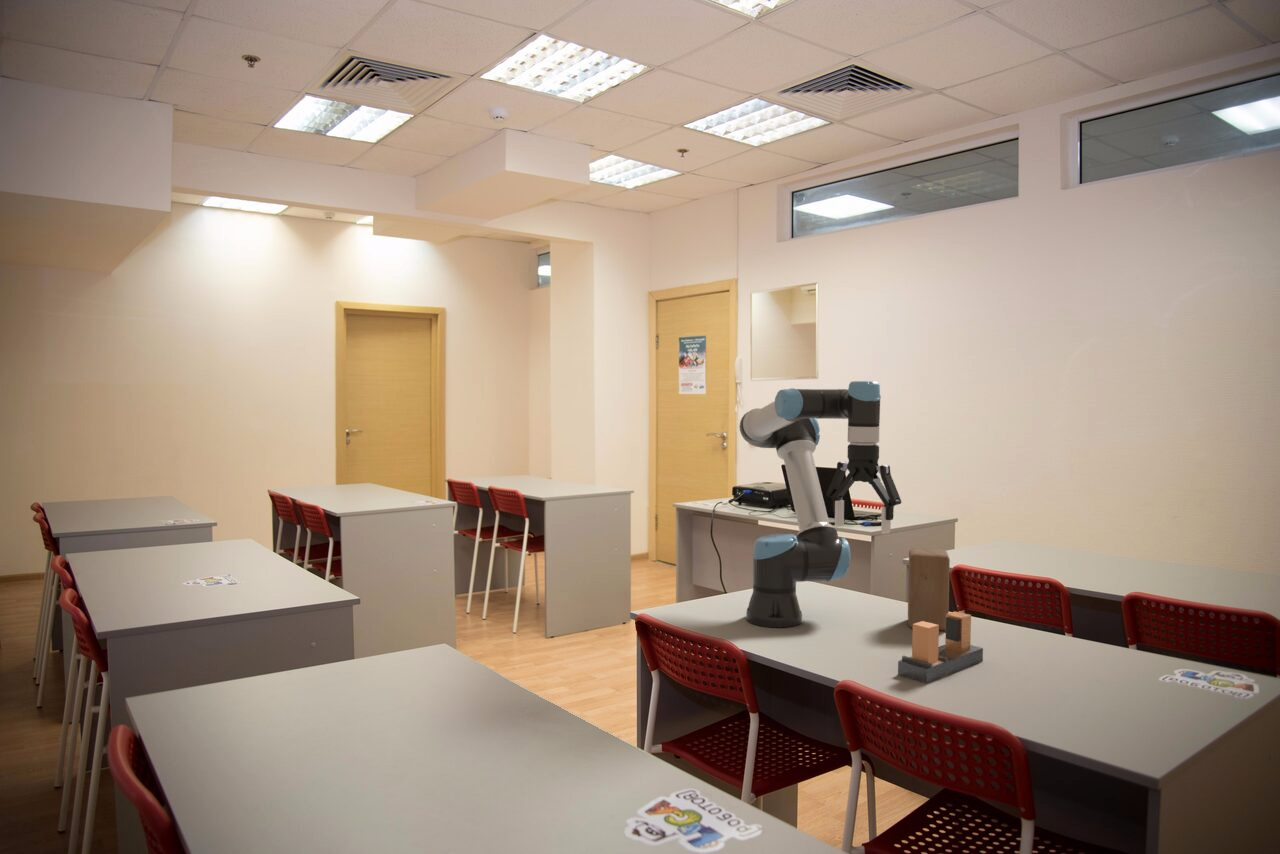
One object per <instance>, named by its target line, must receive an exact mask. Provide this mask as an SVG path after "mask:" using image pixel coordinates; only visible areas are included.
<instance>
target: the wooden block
mask: <svg viewBox="0 0 1280 854" xmlns="http://www.w3.org/2000/svg"><path fill="white" fill-rule="evenodd" d="M950 561H951V560H950V556H949V554H948V551H947V550H945V549H935V548H934V549H931V548H914V547H913V548H910V549H909V551H908V585H907V587H908V588H907V598H908V599H907V624H908V626H909V627H910V628H912V629H913V624H915V623H918V622H921V621H924V622H929V623H933V624H937V625H939V631H943V632H944V631H945V632H946V614H948V613H950V611H949V610H950V609H949V608H950V607H949V605H950V564H951V562H950Z"/></svg>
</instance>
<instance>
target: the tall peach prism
mask: <svg viewBox="0 0 1280 854" xmlns="http://www.w3.org/2000/svg"><path fill="white" fill-rule="evenodd" d="M939 633H940V630H939V625H937V624H933V623H929V622H924V621H921V622H918V623H915V624H913V628H912V635H911V636H912V639H911V640H912V643H911V644H912V645H911V646H912V648H911V651H912V652H911V656H912V658H914V659H918V660H921V661H925V662H929V663H933V662H936V661H938V647H940V645H939V641H940V640H939V639H940V637H939V635H940V634H939Z"/></svg>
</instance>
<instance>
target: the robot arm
mask: <svg viewBox="0 0 1280 854" xmlns="http://www.w3.org/2000/svg"><path fill="white" fill-rule="evenodd" d="M880 385H881V384H880V383H879V382H878V381H869V380H867V381H866V380H863V381H861V380H856V381H855V380H854V381H850V382H849V384H848V387H847V388H848V389H845V388H841V389H840V388H839V389H838V388H837V389H829V388H828V389H827V388H826V389H825V388H823V389H822V388H821V389H819V388H817V389H812V388H810V389H807V388H804V389H803V388H794V387H793V388H791V387H790V388H787V389H786V388H784V389H780V390H778V392H777V393H776V395H775V397H774V401H772V402H771V403H768V404H767V405H765V406H763V407H761V408H760V407H759V408H753V409H750V410H749V411H747V412H746V413H744V414H743V416H742V417H741V419H740V422H739V427H738V428H739V431H740V435H741V437H742V438H743V440H745V441H746V442H747V443H748V444H750V445H752V446H754V447H756V448H762V449H775V450H776V454H777V457H778V458H780V459H782V460H783V461H784V462H783V463H784V467H785V470H786V475H787V476H786V477H787V480H788V484H789V490H790V493H791V494H790V495H791V498H792V502H793V507H794V512H795V516H796V520H797V525H798V532H797V533H796V535H795V534H793V533H788V532H787V533H785V532H784V533H780V532H779V533H771V534H767V535H763V536H760V537H758V538H757V539H756V540H755V541H754V543H753V554H752V560H753V563H752V565H753V569H752V571H753V572H752V581H753V582H752V594H751V596H750V599H749V603H748V606H747V608H746V616H745V618H746V619H745V620H746V621H747V622H748V623H751V624H753V625H756V626H760V627H765V628H767V627H768V628H790V627H796V626H799V625H801V624H802V623H803V612H802V610H801V608H800V607H801V606H800V604H799V600H798V596H797V590H796V589H797V583H798V582H799V583H801V582H823V581H825V582H830V581H838V580H841V579H843V578H845V576H846V575H847V573H848V571H849V568H850V563H851V549H850V548H851V547H850V543H849V542H848V540H847V539H846V538H845V537H842V536H839V534H838V530H837V528H836V527H844V526H845V500H843V498H844V496H845V495H846V494H847V492H848V491H849V490H850V489H851V487H852V486H853V485H854V483H855V482H862V483H868V484H869V485H871V487H872V488H873V490H874V491H875V493H876V494H877V496H878V497H879V499H880V500H881V502H882V503H883V506H881V524H880V525H881V530H880V534H883V535H885V534H891V528H892V527H891V524H892V523H891V522H892V521H893V520H894V508H895V506H898V505H901V504H902V499H901V496H900V494H899V492H898V491H899V490H898V489H897V487H896V484H895V482H894V479H893V477H892V474H891V466H890V465H889V464H882V465H879V463H878V462H879V459H880V446H879V445H878V443H880V423H881V422H880V421H881V419H880V417H881V415H880V414H881V398H882V397H881V386H880ZM818 419H820V420H821V419H829V420H830V419H831V420H832V419H837V420H838V419H839V420H840V419H841V420H845V419H847V420H848V421H847V442H848V443H849V444H848V445H847V456H846V457H847V459H848V462H847V461H838V462H837V464H836V470H835V473H834V475H833V478H832V480H831V482H830V484H829V486H828V488H827V491H826V493H825V495H826V497H828V498H830V499H831V500H832V512H833V513H834V526H833V525H831V524H830V520H829V515H828V513H827V507H826V504H825V500H824V497H823V492H822V488H821V484H820V479H819V475H818V471H817V467H816V464H815V463H816V462H815V459H814V455H813V453H814V452H815V451H816V450H817V449H816V448H817V446H818V445H819V442H820V439H821V438H820V436H821V435H820V431H821V429H820V426H819V422H818ZM846 471H848V472H849V473H848V474H847V475H846ZM878 474H880V477H879V475H878ZM845 475H846V477H845ZM844 477H845V479H844ZM843 479H844V480H843ZM881 480H882V482H881ZM842 481H843V482H842Z"/></svg>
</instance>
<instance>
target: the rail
mask: <svg viewBox="0 0 1280 854" xmlns="http://www.w3.org/2000/svg"><path fill="white" fill-rule="evenodd" d="M971 632H972V614H969V613H963V612H959V611H952V612H949V613H948V614H946V630H945V644H943V645H939V646H938V661H936V662H933V663H929V662H925V661H921V660H918V659H914V658H912V655H910V656H907V655H902V656H901V660H900V659H899V660H898V661H897V675H899V676H902V677H905V678H908V679H911V680H915V681H918V682H922V683H925V684H928V683H931V682H933V681H936V680H938V679H941V678H944V677H946V676H947V675H951V674H953V673H956V672H959V671H961V670H964V669H966V668H968V667H970V666H971V667H972V665H975V664H978V663H981V662H983V661H984V648H983V647H981V646H975V645H973V644H971V636H972V635H971V634H972V633H971Z"/></svg>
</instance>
